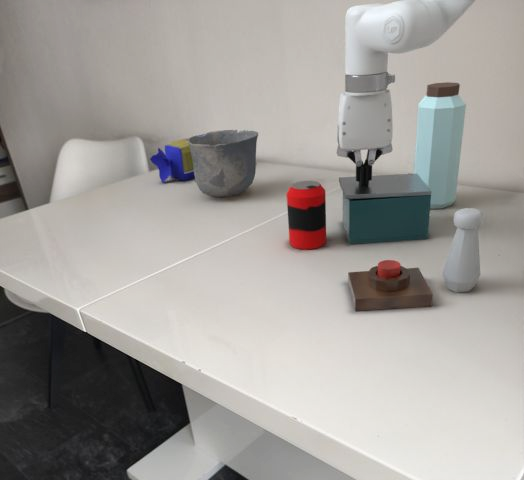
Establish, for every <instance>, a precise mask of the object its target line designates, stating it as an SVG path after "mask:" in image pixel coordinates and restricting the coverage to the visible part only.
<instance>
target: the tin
mask: <svg viewBox="0 0 524 480" xmlns="http://www.w3.org/2000/svg"><path fill="white" fill-rule="evenodd" d="M430 203H431V195H421V196H401V197H380V198H359V199H345V197H344V194H343V193H342V225H343V228H344V232H345V235H346V238H347V239H346V240H347V241H348V244H349V245H360V244H361V245H362V244H375V243H387V242H390V243H391V242H402V241H416V240H427V239H428V236H429V224H430V213H431V209H430Z"/></svg>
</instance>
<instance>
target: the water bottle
mask: <svg viewBox="0 0 524 480" xmlns="http://www.w3.org/2000/svg"><path fill="white" fill-rule="evenodd" d="M460 87H461V84H460V83H459V82H449V81H447V82H434V83H431V84H427V85H426V94H425V95H424V97H423V98H422V99H421V101H420V102H418V104H417V119H416V134H415V150H414V163H413V174H416V173H417V174H418V175H419V176H420V178H421V179H422V180H423V181H424V183H425V184H426V185H427V186H428V187H429V189H430V190H431V191H432V192H431V203H430V210H437V209H442V210H443V209H445V208H447V207H450V206H452V204H454V202H455V201H456V198H457V188H458V181H459V180H458V179H459V173H460V172H459V171H460V170H459V169H460V163H461V153H462V146H463V145H462V144H463V136H464V126H465V125H464V124H465V117H466V110H467V108H466V107H467V104H466V102H465V101H464V100H463V99H462V97H461V96H460V95H459V94H460Z"/></svg>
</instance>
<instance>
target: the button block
mask: <svg viewBox="0 0 524 480" xmlns="http://www.w3.org/2000/svg"><path fill="white" fill-rule="evenodd" d="M377 273H378V265H375V266H373V267H371V268H370V269H369V270H364V271H362V270H361V271H348V273H347V284H348V289H349V292H350V296H351V299H352V304H353V306H354V311H355V312H361V311H377V310H378V311H379V310H391V309H392V310H393V309H394V310H395V309H408V308H425V307H432V306H433V297H434V294H433V292H432V290H431V288H430V286H429V284H428V282H427V281H426V279H425V277H424V275H423V273H422V271H421V269H420V268H419V267H404V266H403V265H401V268H400V276H398V277H396V278H383V277H379V276H378V274H377Z"/></svg>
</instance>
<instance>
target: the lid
mask: <svg viewBox="0 0 524 480" xmlns="http://www.w3.org/2000/svg"><path fill="white" fill-rule="evenodd" d="M338 183H339V186H340V188H341V191H342V195H343V194H344V197H345V199H359V198H380V197H401V196H421V195H431V192H432V191H431V190H430V189H429V187H428V186H427V185H426V184H425V183H424V181H423V180H422V179H421V178H420V176H419V175H418V174H417V173H416V174H414V173H399V174H381V175H380V174H377V175H372V180H370V181H369V186H365V185H364V186H362V187H360V184H359V181H356V176H343V177H342V176H340V177H338Z"/></svg>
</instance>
